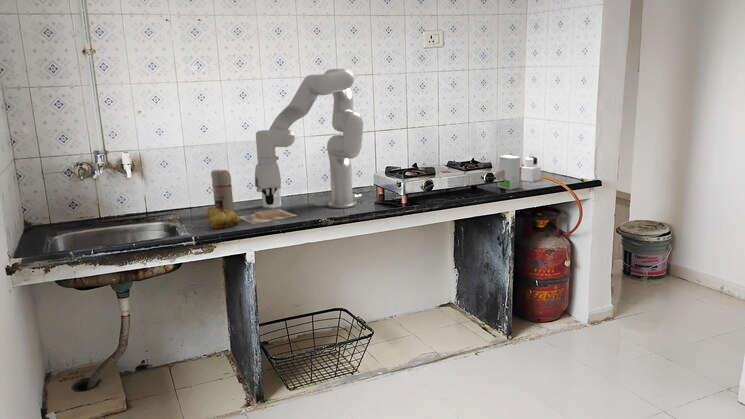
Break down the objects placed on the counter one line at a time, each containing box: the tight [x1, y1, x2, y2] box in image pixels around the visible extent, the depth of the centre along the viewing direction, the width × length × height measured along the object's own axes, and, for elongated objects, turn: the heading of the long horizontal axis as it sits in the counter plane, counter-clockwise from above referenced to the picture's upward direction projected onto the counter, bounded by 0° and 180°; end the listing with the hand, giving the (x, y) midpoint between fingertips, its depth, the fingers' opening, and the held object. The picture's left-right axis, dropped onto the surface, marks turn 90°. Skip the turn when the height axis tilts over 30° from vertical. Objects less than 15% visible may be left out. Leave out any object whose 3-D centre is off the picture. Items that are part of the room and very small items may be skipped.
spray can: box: [210, 168, 235, 212], centre depth 267 cm, size 8×8×20 cm
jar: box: [261, 188, 282, 209], centre depth 277 cm, size 9×8×12 cm
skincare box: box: [497, 154, 521, 190], centre depth 302 cm, size 8×7×16 cm
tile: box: [254, 208, 282, 219], centre depth 258 cm, size 2×7×9 cm
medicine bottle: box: [520, 156, 541, 183], centre depth 319 cm, size 7×7×12 cm
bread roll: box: [206, 206, 241, 229], centre depth 248 cm, size 13×10×8 cm
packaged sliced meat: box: [239, 208, 298, 225], centre depth 258 cm, size 20×16×1 cm
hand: (269, 204), depth 258 cm, fingers closed
